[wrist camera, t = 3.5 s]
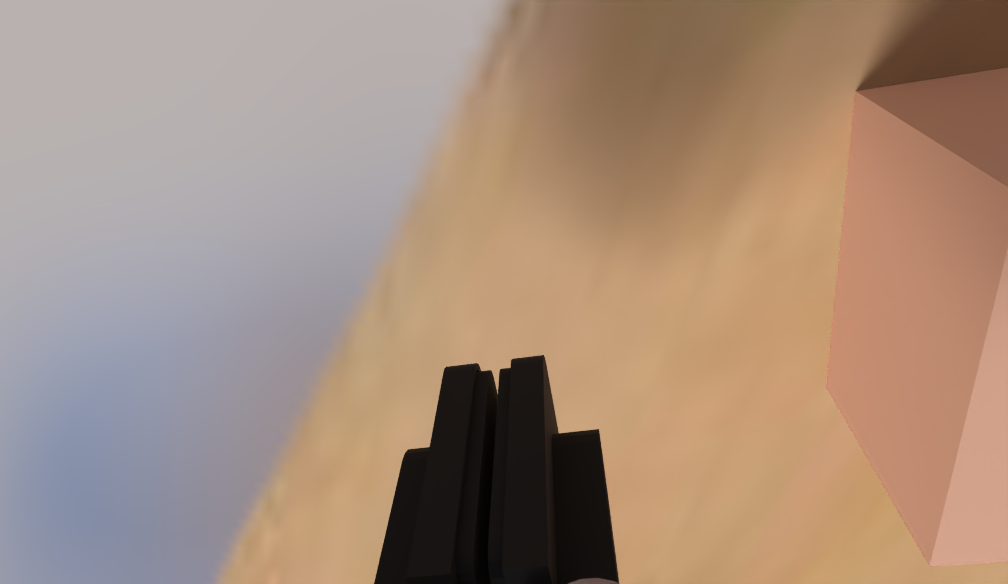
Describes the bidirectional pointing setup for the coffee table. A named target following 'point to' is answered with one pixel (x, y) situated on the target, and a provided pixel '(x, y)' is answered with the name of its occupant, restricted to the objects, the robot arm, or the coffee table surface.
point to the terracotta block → (929, 308)
